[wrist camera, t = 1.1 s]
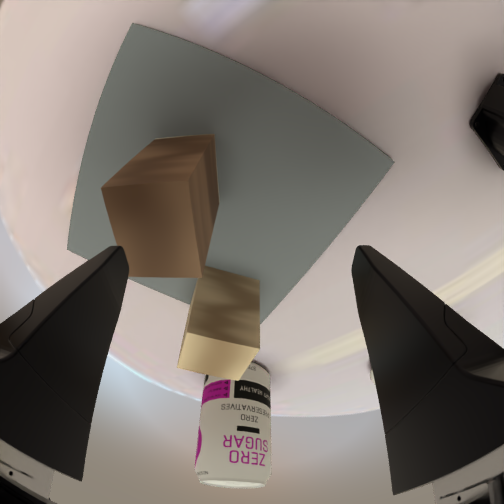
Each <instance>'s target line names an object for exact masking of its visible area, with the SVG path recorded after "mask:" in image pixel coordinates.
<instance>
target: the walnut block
mask: <svg viewBox="0 0 504 504" xmlns="http://www.w3.org/2000/svg"><path fill="white" fill-rule="evenodd" d="M101 191H102V195H103V199H104V203H105V206H106V210H107V214H108V217H109V221H110V224H111V227H112V231H113V234H114V237H115V241H116V244H117V246H122V247H123V248H124V251H125V254H126V257H127V261H128V264H129V275H128V277H159V278H202V277H203V272H204V268H205V263H206V259H207V254H208V250H209V245H210V241H211V237H212V232H213V228H214V224H215V220H216V216H217V211H218V207H219V203H220V200H219V188H218V175H217V161H216V146H215V134H202V135H188V136H177V137H166V138H157V139H155V140H153V141H152V142H151V143H150V144H149V145H147V146H146V147H145V148H144V149H143V150H141V151H140V152H139V153H138V154H137V155H136V156H135V157H133V158H132V159H131V160H130V161H129V162H128V163H127V164H126V165H124V166H123V167H122V168H121V169H120V170H119V171H118V172H117V173H116V174H115V175H114V176H113V177H111V178H110V179H109V180H108V181H107V182H106V183H105V184H104V185H103V186H102V187H101Z"/></svg>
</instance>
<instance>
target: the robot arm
mask: <svg viewBox="0 0 504 504" xmlns="http://www.w3.org/2000/svg"><path fill="white" fill-rule="evenodd" d="M475 123H476V126H475ZM470 126H471V128H472V129H473V131H474V132H475V133H476V135H477V136H478V137H479V139H480V140H481V141H482V143H483V144H484V145H485V147H486V148H487V149H488V151H489V152H490V154H491V155H492V157H493V158H494V160H495V161H496V163H497V164H498V166H499V167H500V168H501V169H502V170H504V74H502V73H500V74H499V75H498V76H497V78H496V80H495V82H494V83H493V85H492V87H491V88H490V90H489V92H488V94H487V95H486V97H485V98H484V100H483V102H482V103H481V105H480V107H479V108H478V110H477V111H476V113H475V114H474V116H473V118H472V119H471V121H470ZM128 275H129V264H128V261H127V257H126V254H125V251H124V248H123V247H122V246H109V247H108V248H106V249H105V250H103V251H102V252H100V253H99V254H97V255H96V256H94V257H93V258H91V259H90V260H88V261H87V262H85V263H84V264H82V265H81V266H79V267H78V268H76V269H75V270H73V271H72V272H71V273H69V274H68V275H66V276H65V277H63V278H62V279H61V280H59V281H58V282H56V283H55V284H54V285H52V286H51V287H49V288H48V289H47V290H45V291H44V292H43V293H41V294H40V295H39V296H37V297H36V298H35V300H32V301H31V302H29V303H28V304H27V305H25V306H24V307H23V308H21V309H20V310H19V311H18V312H16V313H15V314H13V315H12V316H10V317H9V318H8V319H6V320H5V321H4V322H2V323H1V324H0V504H57V503H54V502H52V501H51V500H50V498H49V494H50V489H51V484H52V480H53V475H54V471H57V472H59V473H61V474H64V475H66V476H68V477H71V478H73V479H76V480H79V481H82V478H83V472H84V464H85V457H86V450H87V445H88V439H89V433H90V428H91V422H92V417H93V412H94V408H95V403H96V398H97V394H98V390H99V385H100V381H101V377H102V373H103V369H104V366H105V362H106V358H107V355H108V351H109V348H110V344H111V341H112V337H113V334H114V330H115V327H116V324H117V321H118V318H119V314H120V311H121V307H122V302H123V297H124V293H125V288H126V284H127V280H128ZM352 278H353V284H354V290H355V296H356V302H357V308H358V314H359V318H360V322H361V326H362V330H363V333H364V337H365V341H366V345H367V349H368V354H369V358H370V362H371V366H372V371H373V375H374V380H375V384H376V389H377V394H378V399H379V404H380V409H381V415H382V420H383V426H384V432H385V434H386V435H385V438H386V445H387V451H388V458H389V466H390V474H391V482H392V491H393V495H397V494H400V493H403V492H407V491H410V490H413V489H416V488H419V487H422V486H424V485H427V484H430V483H432V485H433V491H434V498H435V504H504V349H503V348H502V347H501V346H499V345H498V344H497V343H495V342H494V341H493V340H492V339H490V338H489V337H488V336H486V335H485V334H484V333H482V332H481V331H480V330H478V329H477V328H476V327H474V326H473V325H472V324H470V323H469V322H468V321H466V320H465V319H464V318H463V317H461V316H460V315H459V314H458V313H456V312H455V311H454V310H453V309H452V308H450V307H449V306H448V305H447V304H445V303H444V302H443V301H442V300H441V299H439V298H438V297H437V296H436V295H434V294H433V293H432V292H431V291H429V290H428V289H427V288H426V287H424V286H423V285H422V284H421V283H419V282H418V281H417V280H415V279H414V278H413V277H412V276H410V275H409V274H408V273H406V272H405V271H404V270H402V269H401V268H400V267H398V266H397V265H396V264H394V263H393V262H392V261H390V260H389V259H388V258H386V257H385V256H384V255H382V254H381V253H379V252H378V251H377V250H375V249H374V248H373V247H371V246H369V245H359V246H358V247H357V248H356V251H355V255H354V260H353V264H352Z"/></svg>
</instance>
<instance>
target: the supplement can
mask: <svg viewBox="0 0 504 504" xmlns="http://www.w3.org/2000/svg"><path fill="white" fill-rule="evenodd" d="M195 471H196V473H197V475H198V477H199V479H200V480H199V482H200V483H203V484H206V485H210V486H216V487H225V488H258V487H264V486H265V485H266V482H267V481H268V479H269V477H270V475H271V406H270V375H269V374H268V372H267V371H266V370H264V369H263V368H262V367H261V366H259V365H257V364H256V363H253V362H251V363H250V365H249V366H248V368H247V369H246V370H245V372H244V373H243V375H242V376H241V378H240V379H239V381H236V380H231V379H226V378H221V377H216V376H211V375H206V374H205V380H204V388H203V397H202V406H201V414H200V422H199V432H198V441H197V451H196V460H195Z"/></svg>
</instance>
